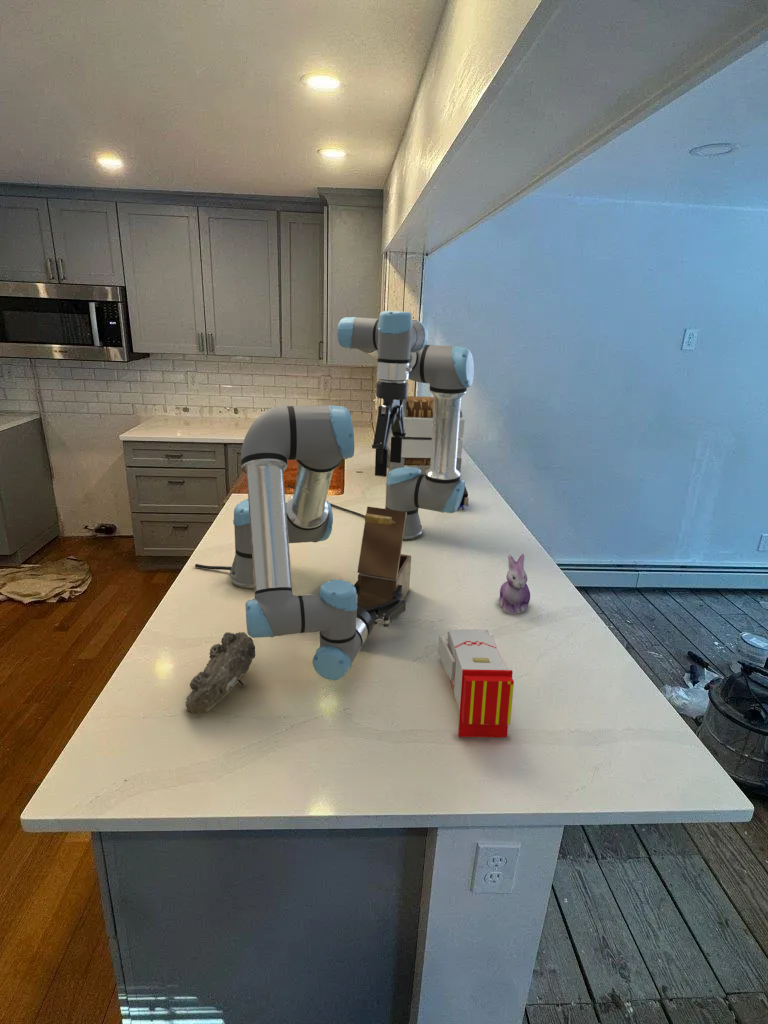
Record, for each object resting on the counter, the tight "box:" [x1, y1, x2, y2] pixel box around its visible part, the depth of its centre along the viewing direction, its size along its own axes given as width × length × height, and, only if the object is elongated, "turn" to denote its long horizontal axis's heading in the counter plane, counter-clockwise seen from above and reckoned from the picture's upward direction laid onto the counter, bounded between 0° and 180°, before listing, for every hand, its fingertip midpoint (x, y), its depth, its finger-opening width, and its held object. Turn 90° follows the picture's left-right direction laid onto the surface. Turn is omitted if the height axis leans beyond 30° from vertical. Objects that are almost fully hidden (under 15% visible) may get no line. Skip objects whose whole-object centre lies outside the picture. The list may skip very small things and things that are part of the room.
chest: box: [357, 553, 412, 607], centre depth 152 cm, size 16×10×10 cm, turn 164°
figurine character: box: [458, 486, 470, 511], centre depth 230 cm, size 7×8×15 cm
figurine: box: [498, 553, 531, 615], centre depth 151 cm, size 9×10×15 cm
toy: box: [437, 628, 515, 738], centre depth 117 cm, size 12×13×30 cm
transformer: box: [386, 395, 465, 475], centre depth 268 cm, size 34×33×41 cm
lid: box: [357, 506, 407, 579], centre depth 140 cm, size 17×10×9 cm
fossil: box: [185, 631, 256, 715], centre depth 116 cm, size 22×10×15 cm
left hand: (380, 586), depth 148 cm, fingers closed on chest, 10 cm apart
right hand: (388, 468), depth 140 cm, fingers open, 13 cm apart
